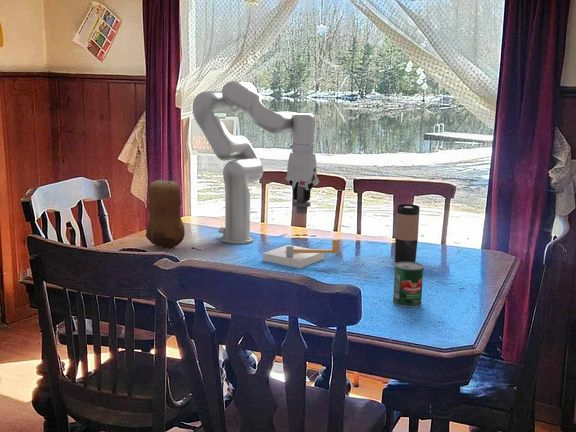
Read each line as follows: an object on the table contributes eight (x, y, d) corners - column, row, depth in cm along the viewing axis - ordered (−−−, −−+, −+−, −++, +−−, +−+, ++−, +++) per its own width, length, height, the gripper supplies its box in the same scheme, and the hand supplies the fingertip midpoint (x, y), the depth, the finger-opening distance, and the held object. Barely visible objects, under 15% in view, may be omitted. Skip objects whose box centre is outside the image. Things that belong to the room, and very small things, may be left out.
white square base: (262, 264, 213) (263, 253, 212) (287, 255, 225) (288, 244, 224) (300, 272, 204) (300, 260, 204) (323, 262, 217) (324, 251, 216)
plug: (289, 212, 226) (289, 186, 224) (298, 210, 231) (299, 184, 229) (304, 215, 222) (304, 188, 220) (313, 212, 228) (314, 186, 226)
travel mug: (417, 260, 222) (421, 205, 218) (414, 266, 215) (418, 208, 211) (395, 258, 225) (399, 203, 221) (392, 263, 218) (395, 206, 214)
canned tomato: (404, 296, 183) (407, 260, 181) (426, 303, 177) (429, 266, 175) (386, 301, 178) (389, 264, 176) (409, 309, 172) (411, 270, 170)
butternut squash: (178, 241, 241) (178, 177, 237) (189, 249, 230) (188, 181, 225) (142, 244, 235) (141, 178, 231) (151, 253, 224) (149, 183, 219)
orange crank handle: (285, 255, 209) (286, 238, 208) (337, 255, 210) (338, 239, 209) (286, 257, 206) (286, 240, 205) (338, 257, 208) (339, 240, 207)
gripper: (277, 147, 224) (276, 198, 227) (317, 151, 215) (315, 204, 218) (289, 146, 230) (288, 196, 233) (328, 149, 221) (326, 201, 224)
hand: (301, 199), depth 226 cm, fingers closed on plug, 3 cm apart
